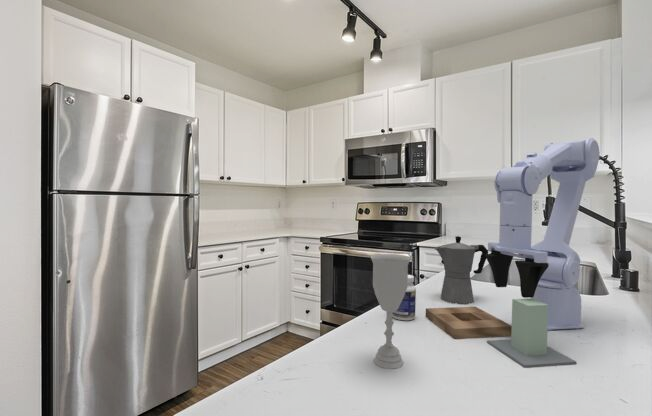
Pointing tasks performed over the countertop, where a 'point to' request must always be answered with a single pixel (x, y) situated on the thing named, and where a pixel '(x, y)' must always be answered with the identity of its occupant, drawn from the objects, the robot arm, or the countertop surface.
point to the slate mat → (531, 361)
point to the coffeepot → (459, 270)
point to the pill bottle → (407, 303)
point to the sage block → (529, 326)
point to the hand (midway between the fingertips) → (513, 291)
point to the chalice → (389, 300)
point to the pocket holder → (468, 322)
